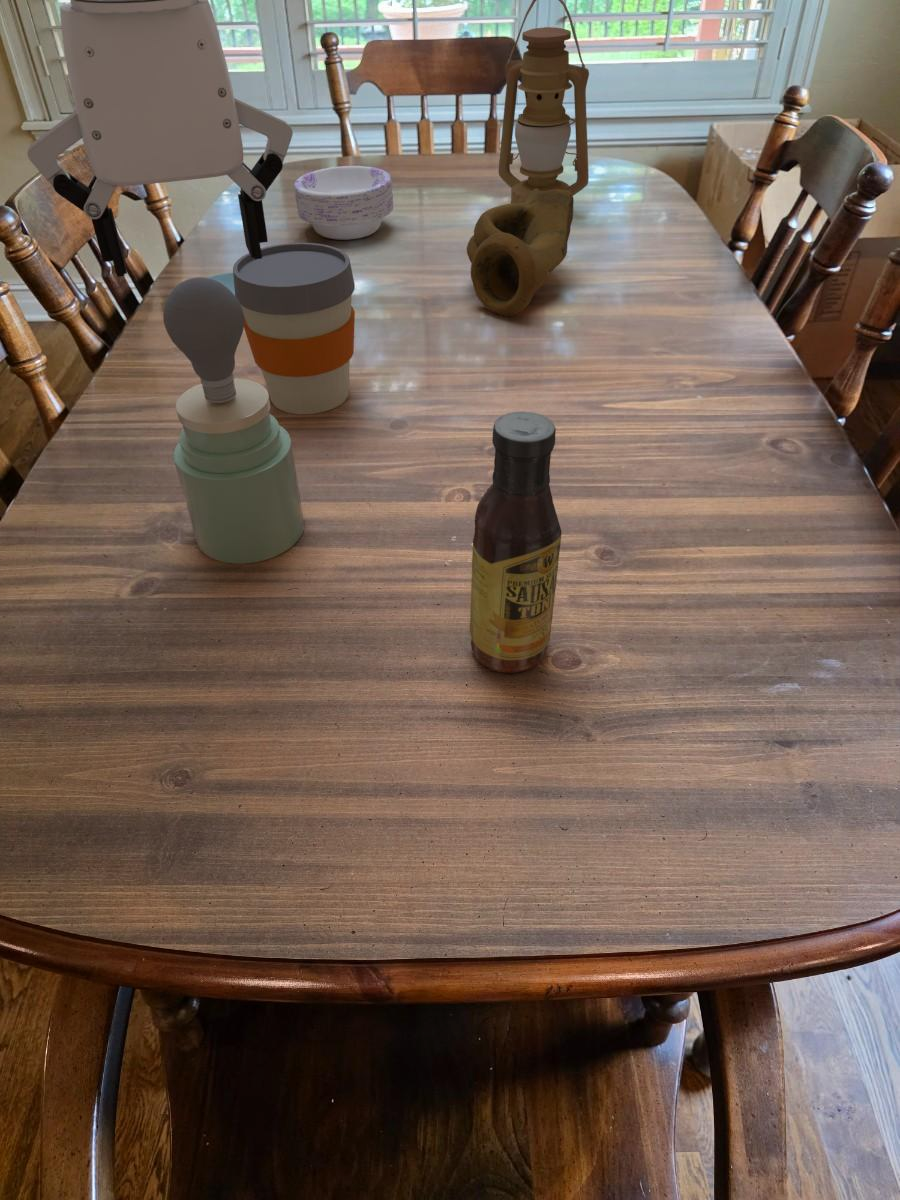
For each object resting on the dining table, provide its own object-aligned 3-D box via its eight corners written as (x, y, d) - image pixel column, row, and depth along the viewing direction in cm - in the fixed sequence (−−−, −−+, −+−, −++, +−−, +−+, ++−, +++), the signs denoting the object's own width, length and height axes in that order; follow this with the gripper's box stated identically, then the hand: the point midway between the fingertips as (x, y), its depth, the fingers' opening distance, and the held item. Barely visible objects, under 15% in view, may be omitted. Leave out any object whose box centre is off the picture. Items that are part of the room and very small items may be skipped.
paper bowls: (292, 221, 143) (285, 169, 138) (381, 210, 147) (378, 159, 141) (309, 253, 132) (302, 198, 127) (405, 240, 136) (402, 187, 130)
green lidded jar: (173, 546, 79) (134, 415, 70) (239, 489, 86) (211, 362, 77) (263, 576, 76) (235, 442, 67) (324, 514, 82) (306, 384, 73)
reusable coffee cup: (306, 359, 106) (288, 234, 96) (386, 386, 101) (377, 256, 91) (231, 402, 99) (204, 270, 89) (314, 434, 93) (294, 298, 83)
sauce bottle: (508, 690, 65) (517, 466, 52) (453, 647, 69) (449, 427, 55) (568, 649, 68) (591, 428, 55) (512, 609, 72) (521, 393, 59)
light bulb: (194, 382, 74) (167, 265, 67) (264, 382, 74) (243, 264, 67) (176, 418, 69) (144, 296, 63) (250, 418, 69) (226, 296, 63)
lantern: (588, 202, 148) (605, -12, 128) (584, 223, 140) (602, -1, 120) (500, 199, 150) (504, -12, 130) (491, 219, 142) (494, -2, 122)
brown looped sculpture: (636, 220, 119) (551, 239, 104) (595, 303, 128) (511, 332, 113) (536, 153, 124) (441, 162, 109) (502, 238, 133) (410, 257, 118)
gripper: (262, -37, 57) (295, 231, 69) (-20, -24, 53) (65, 258, 64) (283, -24, 52) (315, 264, 63) (-28, -9, 48) (65, 296, 59)
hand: (188, 261), depth 64 cm, fingers open, 9 cm apart
